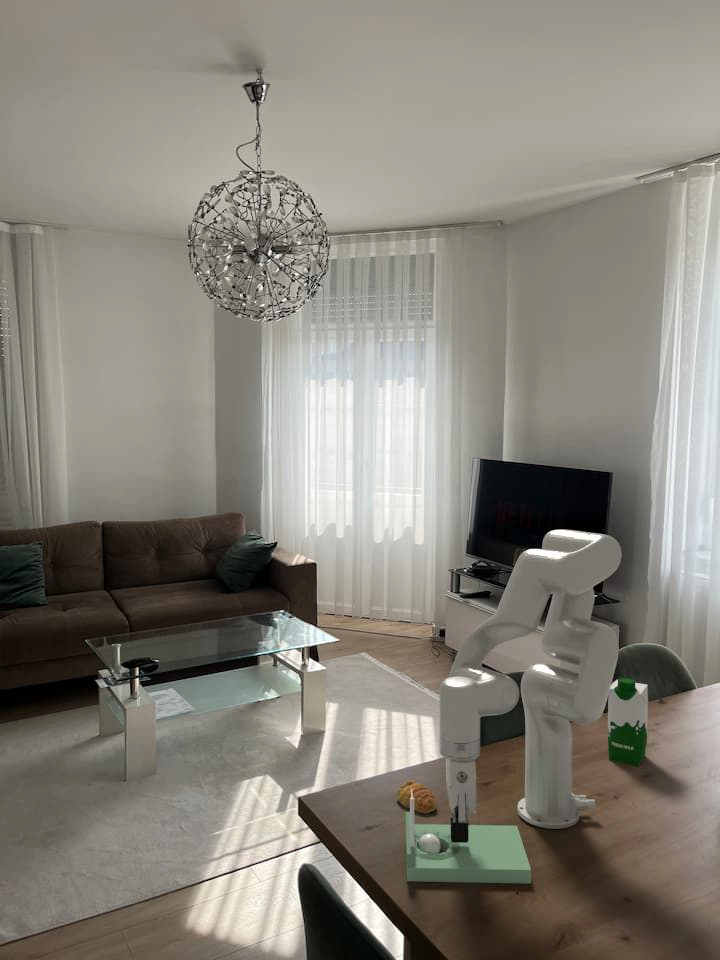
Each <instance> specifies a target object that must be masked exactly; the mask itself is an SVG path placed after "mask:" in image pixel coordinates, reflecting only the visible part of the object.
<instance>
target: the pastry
mask: <svg viewBox="0 0 720 960" xmlns="http://www.w3.org/2000/svg"><path fill="white" fill-rule="evenodd" d="M411 789H412V791H413V798H414V810H415V811H414V812H416V811H418V812H417V813H419V812H420V814H421V813H422V814H429V813H431V812H433V811H436V808H437V805H438V802H437V800H436V797H435V796H434V795H433V793H432V792H431V791H430V790H429V788H427V786H424V784H423V783H419V782H418V783H416V782H415V781H414V780H407V781H405V782H404V783H402V784H401V785H400V787H399V788H398V789H397V792H396V798H397V799H398V802H399V804H401V805H402V806H403V807H405V808H407V809H409V808H410V798H411Z"/></svg>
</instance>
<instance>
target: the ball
mask: <svg viewBox="0 0 720 960" xmlns="http://www.w3.org/2000/svg"><path fill="white" fill-rule="evenodd" d="M418 849H419V850H421V851H422V852H425V853H428V854H439V852H440V841H439V839H438V838H437V837H436V836H435V835H433V834H425V835H423V836H422V837H421V838H420V840H419V842H418Z"/></svg>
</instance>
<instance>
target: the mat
mask: <svg viewBox="0 0 720 960" xmlns="http://www.w3.org/2000/svg"><path fill="white" fill-rule="evenodd" d="M425 834H433V835H435V836H436V837H437V838H438V839H439V841H440V852H439V854H428V853H425V852H422V851H421V850H419V849H418V842H419V840H420V838H421V837H422V836H423V835H425ZM523 843H524V842H523V840H522V836H521V834H520V830H519V828H518V825H499V824H498V825H497V824H496V825H490V824H489V825H487V824H485V825H483V824H480V825H479V824H469V830H468V842H467V843H461V842H452V841H451V824H431V823H430V824H429V823H427V824H426V823H425V824H422V823H416V824H415V823H414V848H411V847H410V811H405V853H406V854H405V856H406V857H405V859H406V861H405V863H406V882H427V883H429V882H432V883H433V882H434V883H435V882H437V883H439V882H440V883H477V884H478V883H479V884H481V883H485V884H488V883H489V884H490V883H491V884H527V885H528V884H532V869H531V866H530V863H529V862H530V861H529V859H528V856H527V853H526V849H525V846H524V844H523Z"/></svg>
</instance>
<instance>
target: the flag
mask: <svg viewBox="0 0 720 960" xmlns="http://www.w3.org/2000/svg"><path fill="white" fill-rule="evenodd" d="M409 812H410V847H411V848H414V824H415V811H414V798H413V791H412V789H411V798H410V809H409Z"/></svg>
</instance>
